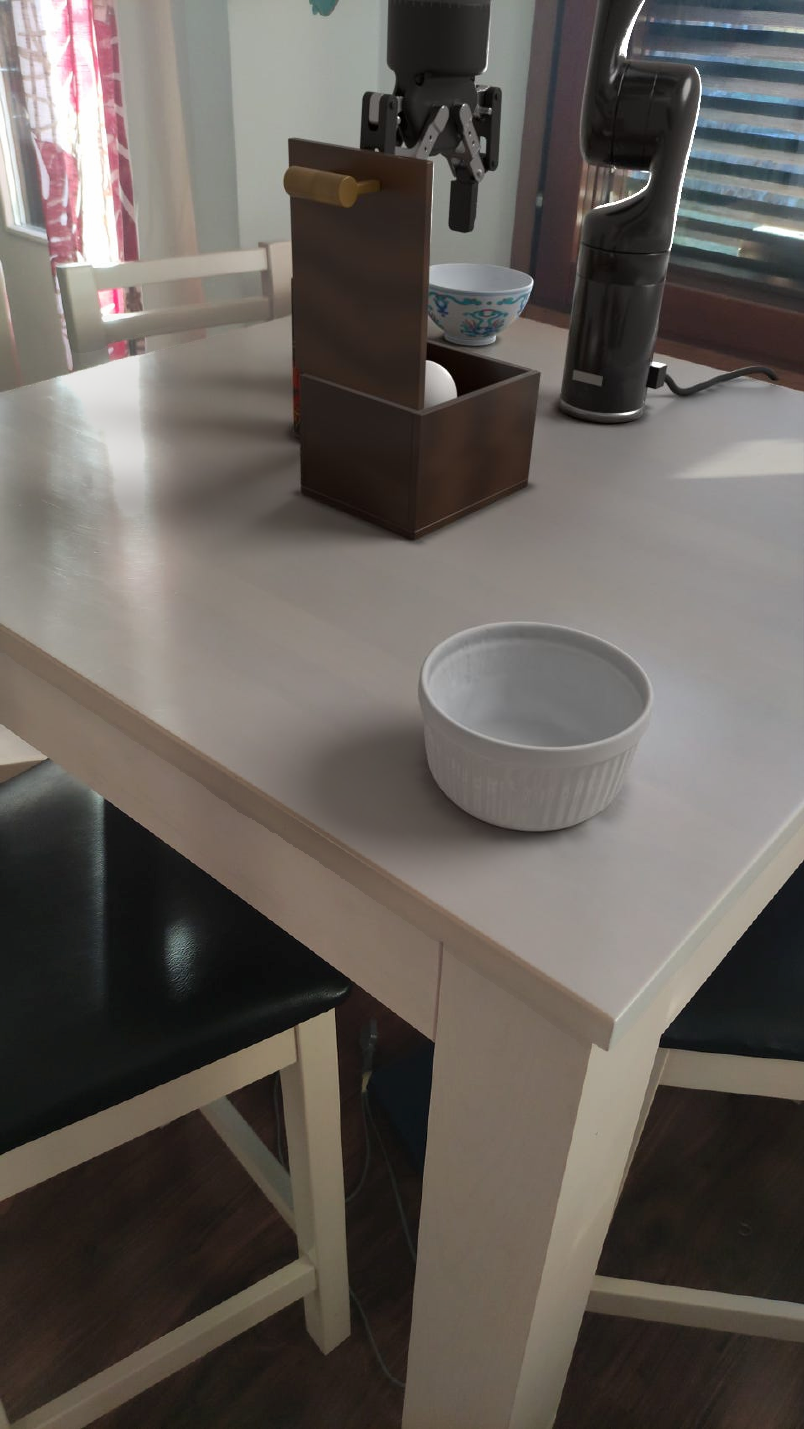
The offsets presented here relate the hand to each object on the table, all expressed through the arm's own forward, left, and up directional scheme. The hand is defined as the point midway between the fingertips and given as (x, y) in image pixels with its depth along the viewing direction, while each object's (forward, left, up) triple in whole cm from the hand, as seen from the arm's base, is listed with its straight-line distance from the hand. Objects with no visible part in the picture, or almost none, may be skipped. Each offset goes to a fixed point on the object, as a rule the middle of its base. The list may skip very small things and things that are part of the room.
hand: (428, 238), depth 85 cm
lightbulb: (0, 0, -21) cm, 21 cm away
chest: (0, 0, -22) cm, 22 cm away
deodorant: (-4, -16, -22) cm, 27 cm away
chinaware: (-43, -27, -22) cm, 55 cm away
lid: (+8, 0, -2) cm, 8 cm away
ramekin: (+28, +32, -22) cm, 48 cm away
